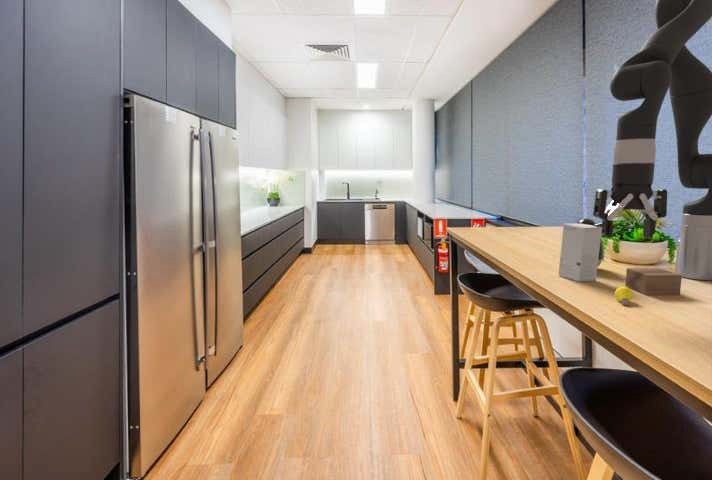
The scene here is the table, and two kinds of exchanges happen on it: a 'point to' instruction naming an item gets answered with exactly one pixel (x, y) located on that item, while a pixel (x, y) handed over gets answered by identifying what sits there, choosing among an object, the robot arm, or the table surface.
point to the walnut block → (653, 281)
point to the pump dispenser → (601, 250)
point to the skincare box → (580, 252)
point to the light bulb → (624, 295)
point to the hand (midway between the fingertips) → (627, 237)
